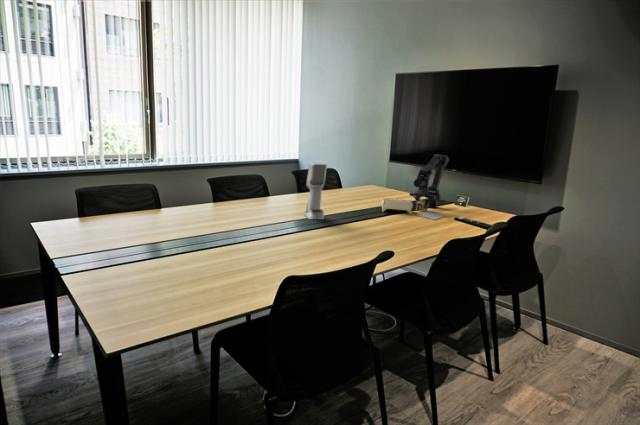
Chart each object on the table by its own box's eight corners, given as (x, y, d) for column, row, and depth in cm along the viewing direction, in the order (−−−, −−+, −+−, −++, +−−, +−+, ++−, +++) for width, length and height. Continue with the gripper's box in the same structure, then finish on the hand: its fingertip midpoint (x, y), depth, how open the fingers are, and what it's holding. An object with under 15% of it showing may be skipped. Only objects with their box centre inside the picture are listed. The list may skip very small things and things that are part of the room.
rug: (427, 212, 298) (427, 211, 298) (445, 216, 289) (446, 215, 289) (416, 215, 286) (416, 215, 286) (434, 220, 277) (435, 219, 277)
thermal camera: (308, 220, 262) (310, 164, 253) (302, 214, 274) (305, 161, 265) (325, 219, 266) (329, 164, 257) (320, 214, 277) (322, 161, 269)
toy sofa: (411, 211, 298) (412, 197, 295) (412, 214, 289) (413, 200, 287) (381, 209, 300) (382, 195, 297) (381, 212, 292) (382, 197, 289)
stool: (419, 209, 305) (420, 199, 303) (427, 210, 301) (428, 201, 300) (415, 210, 301) (416, 200, 299) (422, 212, 297) (424, 202, 295)
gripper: (406, 184, 297) (404, 206, 301) (430, 189, 285) (427, 211, 289) (414, 183, 305) (412, 204, 309) (438, 187, 293) (435, 209, 297)
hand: (421, 207), depth 300 cm, fingers closed on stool, 6 cm apart
